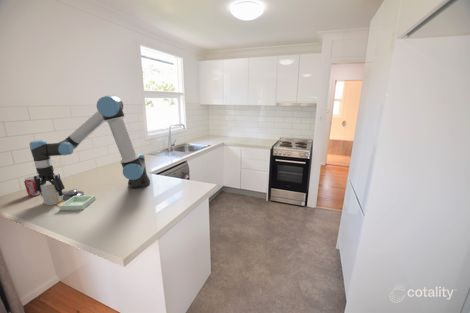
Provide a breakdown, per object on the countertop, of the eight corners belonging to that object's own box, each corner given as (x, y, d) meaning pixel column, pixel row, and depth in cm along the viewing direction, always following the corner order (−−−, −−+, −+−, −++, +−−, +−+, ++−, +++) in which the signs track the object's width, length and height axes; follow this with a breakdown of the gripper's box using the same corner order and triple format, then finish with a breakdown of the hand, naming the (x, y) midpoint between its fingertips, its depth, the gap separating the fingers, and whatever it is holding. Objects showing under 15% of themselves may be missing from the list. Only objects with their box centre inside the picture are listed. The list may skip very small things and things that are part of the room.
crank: (79, 192, 143) (77, 183, 141) (74, 195, 138) (72, 186, 136) (58, 193, 143) (56, 184, 141) (52, 196, 138) (50, 187, 136)
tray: (95, 199, 136) (94, 195, 136) (82, 210, 124) (81, 205, 123) (75, 200, 136) (74, 195, 135) (59, 210, 123) (58, 205, 123)
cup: (52, 205, 129) (47, 187, 126) (41, 204, 131) (36, 186, 127) (65, 199, 137) (60, 181, 133) (55, 198, 138) (50, 181, 135)
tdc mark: (67, 202, 133) (67, 201, 133) (62, 205, 129) (62, 205, 129) (61, 202, 133) (61, 202, 133) (56, 205, 129) (56, 205, 129)
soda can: (44, 193, 145) (40, 177, 142) (31, 197, 139) (26, 180, 136) (39, 191, 148) (34, 175, 145) (26, 195, 142) (21, 179, 139)
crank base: (87, 192, 146) (87, 190, 146) (76, 200, 136) (76, 198, 136) (71, 192, 146) (70, 191, 146) (59, 200, 135) (58, 198, 135)
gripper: (66, 163, 131) (74, 197, 137) (31, 164, 130) (41, 198, 137) (57, 167, 124) (66, 202, 130) (20, 168, 123) (31, 204, 129)
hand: (53, 200), depth 133 cm, fingers closed on cup, 8 cm apart
